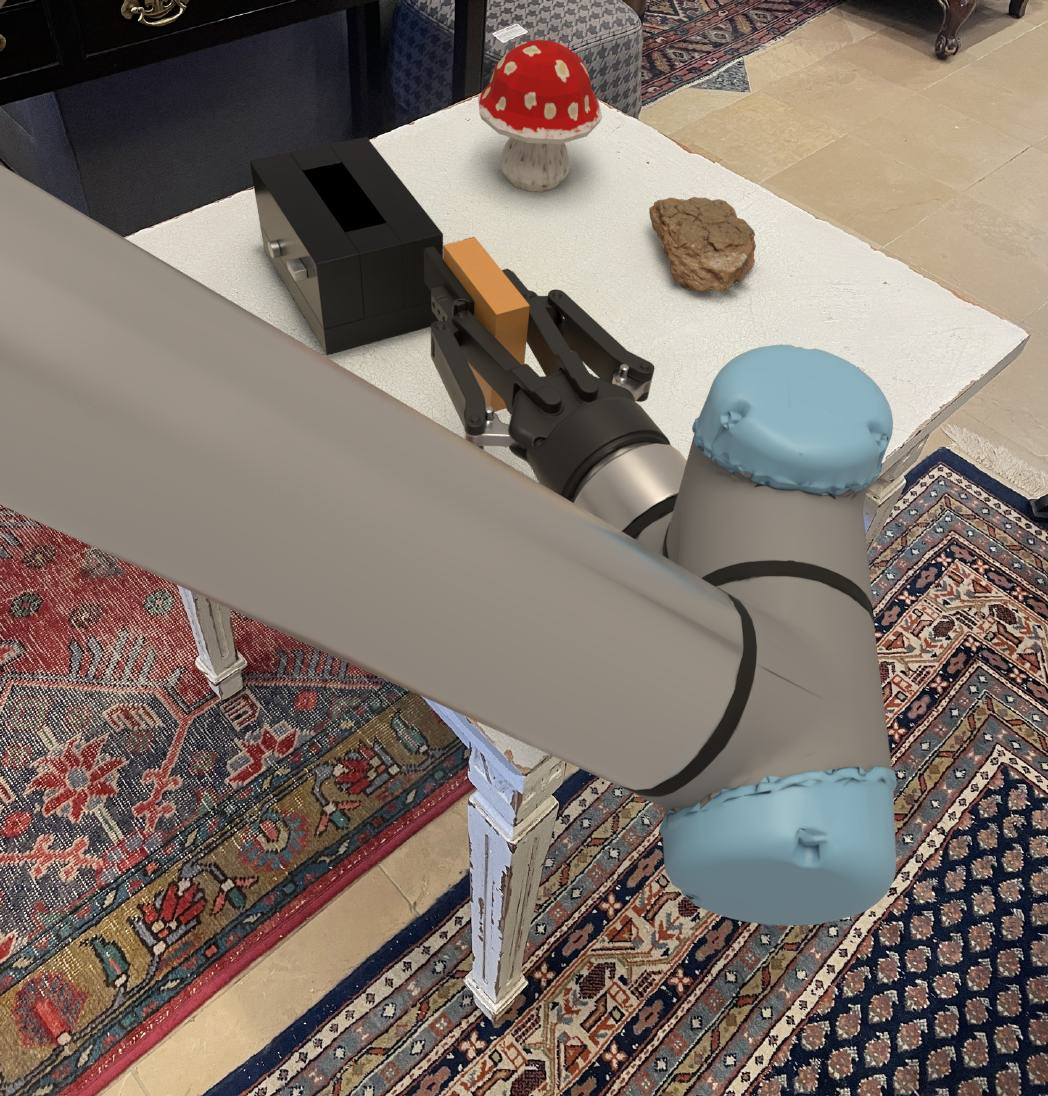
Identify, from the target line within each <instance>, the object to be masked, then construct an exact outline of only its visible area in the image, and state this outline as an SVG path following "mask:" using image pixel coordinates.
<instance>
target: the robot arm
mask: <svg viewBox="0 0 1048 1096" xmlns="http://www.w3.org/2000/svg"><path fill="white" fill-rule="evenodd" d="M6 2H7V0H0V9H1V8H2V7H3V6H4V4H5V3H6ZM474 237H475V236H472V237H468V238H464V239H463V240H466V239H470V238H474ZM501 270H502V271H503V273H504V274H505V275H506V276H507V278H508V279H509V280H510V281H511V283H512V284H513V285H514V286H515V288H516V289H517V290H518V291H519V293H520V294H521V295H522V296H523V298H524V299H525V300H526V301H527V303H528V304H529V305H530V308H529V319H528V330H527V341H526V345H527V346H528V348H529V349H530V351H531V352H532V354H533V356H534V358H535V359H536V361H537V363H538V365H539V366H540V368H541V370H542V372H543V374H544V376H540V375H539V374H538V373H537V372H536V371H535V370H534V369H533V368H532V367H531V366H530V365H529V364H528V363H524V364H523V365H521V364H520V363H519V362H518V361H517V360H516V359H515V358H514V357H513V355H512V354H511V353H510V352H509V351H508V350H507V349H506V348H505V347H504V346H503V345H502V344H501V343H500V342H499V341H498V340H497V339H496V338H495V337H494V336H493V335H492V334H491V333H490V332H489V331H488V330H487V329H486V328H485V327H484V326H483V325H482V324H481V323H480V322H479V321H478V320H477V319H476V318H475V317H474V300H473V299H472V297H471V296H470V295H469V293H468V292H467V291H466V289H465V288H464V287H463V285H462V284H461V283H460V281H459V280H458V279H457V277H456V276H455V275H454V273H453V272H452V271H451V269H450V268H449V267H448V265H447V264H446V263H445V261H444V260H443V258H442V257H441V255H440V254H439V253H438V251H437V250H436V249H435V247H430V248H425V249H424V282H425V284H426V285H427V286H428V288H429V289H430V291H431V306H432V311H433V313H434V314H435V315H436V317H437V319H438V320H439V321H436V322H434V323H432V324H431V326H430V359H431V361H432V362H433V364H434V367H435V369H436V371H437V374H438V375H439V378H440V379H441V380H440V381H441V382H442V384H443V386H444V388H445V391H446V392H447V394H448V396H449V399H450V400H451V403H452V405H453V408H454V409H455V412H456V414H457V416H458V418H459V420H460V422H461V424H462V427H463V429H464V432H463V433H464V435H463V436H461V435H459V434H458V433H456V432H454V431H453V430H451V429H449V428H447V427H446V426H444V425H442V424H440V423H439V422H437V421H435V420H433V419H432V418H430V417H429V416H426V414H424V413H421V412H420V411H418V410H416V409H415V408H413V407H412V406H409V405H408V404H407V403H404V402H403V401H401V400H400V399H398V398H397V397H394V396H393V395H391V394H390V393H388V392H386V391H384V390H382V388H379V387H378V386H376V385H375V384H372V383H371V382H369V381H367V380H366V379H364V378H363V377H361V376H359V375H357V374H356V373H354V372H352V371H350V370H349V369H347V368H345V367H344V366H342V365H341V364H339V363H337V362H335V361H333V360H332V359H331V358H329V357H327V356H325V355H323V354H322V353H320V352H319V351H316V350H315V349H313V348H312V347H310V346H308V345H306V344H305V343H303V342H302V341H299V340H298V339H297V338H295V337H293V336H291V335H289V333H286V332H284V331H283V330H281V329H280V328H278V327H276V326H274V325H273V324H271V323H270V322H268V321H265V320H264V319H263V318H261V317H259V316H257V315H256V314H254V313H252V312H251V311H249V310H248V309H246V308H244V307H243V306H241V305H239V304H237V303H235V302H233V301H232V300H230V299H229V298H227V297H226V296H223V295H222V294H220V293H218V292H217V291H216V290H213V289H211V288H210V287H208V286H206V285H205V284H203V283H201V282H200V281H199V280H196V279H195V278H193V277H191V276H189V275H188V274H187V273H184V272H183V271H181V270H180V269H179V268H176V267H174V265H171V264H170V263H168V262H166V261H164V260H163V259H160V258H159V257H157V255H154V254H152V253H151V252H149V251H147V250H145V249H144V248H142V247H141V246H139V245H138V244H135V243H134V242H132V241H130V240H128V239H127V238H125V237H124V236H122V235H120V234H118V233H117V232H115V231H113V230H112V229H110V228H108V227H107V226H106V225H104V224H102V223H100V222H98V221H96V220H95V219H93V218H92V217H89V216H88V215H86V214H85V213H83V212H81V211H79V210H78V209H76V208H74V207H73V206H71V205H69V204H67V203H66V202H64V201H63V200H61V199H60V198H58V197H56V196H54V195H52V194H51V193H49V192H47V191H45V190H44V189H42V188H40V187H39V186H37V185H35V184H34V183H32V182H31V181H29V180H27V179H26V178H23V177H22V176H20V175H19V174H17V173H15V172H13V171H12V170H10V169H8V168H7V167H5V166H3V165H1V164H0V506H3V507H5V508H7V509H9V510H11V511H13V512H15V513H18V514H20V515H22V516H23V517H24V516H25V517H26V518H29V519H31V520H34V521H35V522H38V523H39V524H41V525H44V526H46V527H48V528H50V529H53V530H55V531H57V532H60V533H62V534H63V535H66V536H68V537H71V538H73V539H75V540H77V541H79V542H81V543H84V544H85V545H88V546H90V547H93V548H94V549H97V550H99V551H101V552H103V553H106V554H108V555H109V556H112V557H114V558H117V559H119V560H121V561H123V562H125V563H127V564H130V565H131V566H134V567H136V568H138V569H141V570H143V571H145V572H148V573H149V574H152V575H154V576H156V577H159V578H160V579H163V580H165V581H167V582H170V583H171V584H174V585H176V586H179V587H180V588H182V589H185V590H187V591H190V592H191V593H193V594H195V595H198V596H200V597H202V598H205V599H206V600H209V601H211V602H213V603H215V604H218V605H220V606H222V607H225V608H226V609H228V610H231V611H233V612H235V613H238V614H240V615H242V616H244V617H247V618H248V619H251V620H253V621H255V622H258V623H260V624H262V625H264V626H266V627H269V628H270V629H273V630H275V631H277V632H280V633H281V634H284V635H286V636H288V637H290V638H292V639H295V640H297V641H299V642H301V643H304V644H306V645H308V646H310V647H313V648H314V649H317V650H319V651H322V652H323V653H326V654H328V655H330V656H332V657H334V658H337V659H339V660H340V661H343V662H345V663H348V664H349V665H352V666H354V667H356V668H358V669H361V670H363V671H365V672H367V673H370V674H371V675H374V676H376V677H379V678H380V679H383V680H385V681H387V682H389V683H391V684H394V685H396V686H398V687H400V688H402V689H404V690H407V691H409V692H411V693H413V694H416V695H418V696H420V697H423V698H425V699H427V700H429V701H431V702H434V703H435V704H438V705H440V706H442V707H444V708H446V709H449V710H451V711H453V712H455V713H457V714H460V715H462V716H464V717H467V718H468V719H471V720H473V721H474V722H477V723H479V724H481V725H484V726H486V727H488V728H490V729H492V730H494V731H497V732H499V733H501V734H503V735H505V736H508V737H510V738H513V739H515V740H516V741H519V742H521V743H524V744H526V745H527V746H530V747H532V748H534V749H537V750H539V751H541V752H543V753H545V754H547V755H550V756H552V757H554V758H556V759H559V760H561V761H563V762H564V763H567V764H569V765H571V766H573V767H576V768H578V769H580V770H583V771H585V772H587V773H589V774H591V775H594V776H596V777H598V778H600V779H603V780H605V781H607V782H609V783H611V784H613V785H615V786H618V787H620V788H623V789H624V790H627V791H629V792H631V793H632V794H634V795H636V796H638V797H640V798H642V799H644V800H645V801H648V802H650V803H652V804H654V805H656V806H659V807H661V809H662V810H663V812H664V813H663V818H662V820H661V824H660V826H659V828H658V833H660V835H661V836H662V846H663V847H662V848H663V849H662V850H663V865H664V866H663V867H664V871H665V874H666V876H667V877H668V878H669V880H670V882H671V884H672V886H673V887H675V888H677V889H679V890H680V892H681V894H682V896H683V897H684V898H686V899H687V900H688V901H690V902H691V903H692V904H693V905H695V906H697V907H699V908H701V909H703V910H705V911H708V912H710V913H712V914H716V915H718V916H722V917H725V918H728V919H732V920H737V921H741V922H746V923H751V924H759V925H768V926H769V925H770V926H782V927H783V926H786V927H787V926H812V925H820V924H825V923H831V922H835V921H839V920H843V919H847V918H851V917H855V916H857V915H860V914H862V913H864V912H866V911H868V910H870V909H871V908H874V907H875V906H876V905H877V904H879V902H880V901H881V900H883V898H884V897H885V896H886V895H887V894H888V893H889V891H890V889H891V888H892V885H893V884H894V880H895V878H896V870H897V850H896V849H897V847H896V826H895V824H896V823H895V803H894V801H895V799H894V792H895V790H896V788H897V786H898V785H897V784H898V782H897V776H896V772H895V770H894V769H893V767H892V759H891V752H890V741H889V735H888V725H887V719H886V711H885V702H884V695H883V686H882V679H881V671H880V662H879V654H878V646H877V645H878V644H877V638H876V627H875V615H874V613H875V612H874V603H873V594H872V584H871V574H870V573H871V572H870V563H869V553H868V544H867V534H866V525H865V516H864V507H865V500H866V495H867V491H868V489H869V488H870V486H871V485H872V484H874V483H876V482H877V481H878V480H879V477H880V474H881V472H882V471H883V460H884V457H885V454H886V452H887V449H888V447H889V444H890V441H891V438H892V436H893V430H894V419H893V413H892V412H893V411H892V408H891V406H890V403H889V401H888V399H887V397H886V395H885V394H884V392H883V391H882V389H881V388H880V386H879V385H878V384H877V383H876V382H875V380H874V379H872V378H871V377H870V376H869V375H868V374H867V373H866V372H865V371H863V370H862V369H861V368H860V367H858V366H856V365H855V364H854V363H851V362H849V361H848V360H846V359H845V358H843V357H841V356H838V355H836V354H834V353H831V352H829V351H825V350H822V349H819V348H805V347H802V346H794V345H792V344H773V345H764V346H759V347H756V348H753V349H750V350H749V349H748V350H747V351H745V352H742V353H740V354H738V355H736V356H735V357H733V358H731V359H730V360H729V361H728V362H727V363H726V364H724V366H722V368H721V369H720V370H719V371H718V373H717V374H716V376H715V377H714V379H713V381H712V383H711V386H710V389H709V391H708V394H707V396H706V399H705V401H704V403H703V406H702V409H701V411H700V413H699V415H698V417H697V418H695V419H694V422H693V424H692V427H691V430H692V433H693V437H692V440H691V444H690V448H689V451H688V455H687V459H686V457H684V455H683V454H682V452H681V451H680V450H679V449H677V448H676V447H674V446H673V445H672V444H671V442H670V440H669V438H668V437H667V436H666V434H665V433H664V432H663V431H662V430H661V428H660V427H659V426H658V425H657V424H656V422H655V421H654V420H653V419H652V417H651V416H650V415H649V414H648V413H647V411H646V410H645V409H644V408H643V407H642V406H641V405H640V404H639V403H642V402H643V403H644V402H645V401H647V400H648V398H649V394H650V390H651V386H652V381H653V378H654V373H655V368H656V367H655V365H654V364H653V363H652V362H651V361H648V360H647V359H645V358H643V357H641V356H639V355H637V354H635V353H633V352H631V351H630V350H627V349H626V348H625V346H624V345H622V344H621V343H620V342H619V341H618V340H617V339H615V337H614V336H612V335H611V334H610V333H609V332H608V331H607V330H606V329H605V328H604V327H602V326H601V324H599V323H598V322H597V321H596V320H595V319H594V318H593V317H591V316H590V314H588V313H587V312H586V310H584V309H583V308H582V307H581V306H580V305H579V304H578V303H577V302H576V301H575V300H573V299H572V298H571V297H570V296H569V295H568V294H567V293H566V292H565V291H563V290H561V289H551V290H549V291H548V292H547V295H538V294H537V293H536V291H533V290H529V289H528V288H527V287H526V285H525V284H524V283H523V282H522V280H521V279H520V277H518V276H517V274H516V273H515V272H514V271H513V270H511V269H509V268H504V269H501ZM468 363H469V364H470V365H471V366H472V367H473V368H474V369H475V370H476V371H477V373H478V374H479V375H480V376H481V377H482V378H483V379H484V380H485V381H486V382H487V383H488V384H489V385H490V386H491V388H492V389H493V390H494V391H495V392H496V393H497V394H498V395H499V396H500V397H501V398H502V399H503V401H504V402H505V406H506V410H507V413H509V414H510V419H509V423H505V422H503V421H501V420H500V418H499V415H498V414H497V413H496V412H494V408H493V407H492V406H486V404H485V398H484V394H483V392H482V390H481V388H480V386H479V384H478V382H477V380H476V378H475V376H474V374H473V372H472V370H471V368H470V366H469V364H468ZM587 368H589V369H587ZM589 370H591V372H592V373H594V374H595V375H596V376H595V375H593V374H592V373H590V372H589ZM485 447H506V448H508V449H509V452H511V454H513V455H514V456H515V457H517V458H519V459H521V460H522V461H525V462H526V463H527V464H528V465H529V466H530V468H531V470H532V473H533V474H534V476H535V478H536V480H535V479H534V478H532V477H530V476H528V475H527V474H525V473H523V472H522V471H520V470H518V469H516V468H515V467H513V466H511V465H510V464H508V463H506V462H505V461H504V460H501V459H500V458H498V457H496V456H494V455H493V454H491V453H489V452H488V451H486V450H485Z"/></svg>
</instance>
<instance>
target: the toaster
mask: <svg viewBox="0 0 1048 1096" xmlns="http://www.w3.org/2000/svg"><path fill="white" fill-rule="evenodd" d="M249 165H250V173H251V178H252V184H253V191H254V196H255V201H256V202H255V203H256V207H257V214H258V221H259V226H260V232H261V233H260V234H261V240H262V245H263V250H264V252H265V254H266V256H267V257H268V260H269V261H270V263H271V264H272V265H273V268H274V269H275V270H276V272H277V274H278V276H279V278H280V279H281V281H282V282H283V284H284V286H285V287H286V289H287V291H288V292H289V294H290V296H291V297H292V299H293V300H294V303H295V304H296V307H297V308H298V310H299V311H300V312H301V314H302V316H303V317H304V319H305V321H306V322H307V324H308V326H309V327H310V329H311V331H312V333H313V334H314V336H315V337H316V339H317V341H318V343H319V345H320V346H321V348H322V349H323V351H324V353H325V355H327V356H328V355H332V354H335V353H338V352H339V353H340V352H343V351H346V350H350V349H353V348H357V347H360V346H364V345H365V346H366V345H368V344H371V343H375V342H379V341H383V340H386V339H389V338H390V339H391V338H394V337H398V336H401V335H404V334H408V333H411V332H417V331H420V330H422V329H426V328H431V324H432V323H434V322H436V321H439V320H438V319H437V317H436V315H435V314H434V313H433V311H432V306H431V291H430V289H429V288H428V286H427V285H426V284H425V282H424V249H425V248H430V247H435V249H436V250H437V251H438V253H439V254H440V255H441V257H442V258H443V245H444V233H443V232H442V231H441V229H440V228H439V226H438V225H437V224H436V223H435V221H434V220H433V219H432V217H430V215H429V214H428V213H427V212H426V210H425V209H424V207H422V205H421V204H420V202H419V201H418V200H417V199H416V198H415V196H414V195H413V194H412V192H410V190H409V189H408V187H407V186H406V185H405V184H404V183H403V181H402V180H401V179H400V178H399V175H397V173H396V172H395V171H394V170H393V168H392V167H391V166H390V165H389V163H388V162H387V161H386V160H385V158H384V157H383V156H382V154H381V153H380V152H379V151H378V149H377V148H376V147H375V146H374V144H373V143H372V142H371V141H370V140H369V138H368V137H367V136H364V137H359V138H355V139H349V140H344V141H340V142H339V141H338V142H335V143H329V144H324V145H319V146H314V147H308V148H304V149H303V148H302V149H298V150H294V151H290V152H288V151H287V152H283V153H278V154H273V155H267V156H263V157H259V158H253V159H249Z"/></svg>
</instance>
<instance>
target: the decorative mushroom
mask: <svg viewBox="0 0 1048 1096" xmlns="http://www.w3.org/2000/svg"><path fill="white" fill-rule="evenodd" d="M477 101H478V102H477V103H478V112H479V113H478V114H479V116H480V119H481V120H482V121H483V122H484V123H485V124H487V126H489V127H490V128H491V129H493V130H494V131H495V132H496V133H497V134H498V135H502V136H504V137H506V138H507V137H508V139H507V141H506V143H505V145H504V146H503V148H502V151H501V154H500V165H501V171H502V173H503V175H504V176H505V177H506V179H507V181H509V182H510V183H511V184H512V185H513V186H514V187H515V188H518V189H521V190H524V191H528V192H546V191H549V190H552V189H556V188H557V186H558V185H559V184H561V182H562V181H563V180H564V179H565V178H566V177H567V175H568V174H569V173H570V169H571V168H570V167H571V164H570V158H569V153H568V148H567V145H566V143H569V142H572V141H577V140H579V139H580V140H581V139H583V138H586V137H588V136H590V134H591V133H592V132H593V130H594V129H595V128H596V127H597V126H598V125H599V124H600V122H601V121H602V119H603V115H602V114H603V113H602V109H601V106H600V103H599V102H600V101H599V99H598V97H597V95H596V94H595V93H594V91H593V89H592V83H591V78H590V74H589V70H588V68H587V66H586V64H585V63H584V61H583V59H582V58H581V57H580V56H578V54H576V53H575V52H574V51H573V50H571V49H570V48H569V47H567V46H566V45H564V44H563V43H560V42H556V41H553V40H550V39H549V40H548V39H532V40H528V41H524V42H521V43H520V44H518V45H516V46H514V47H513V48H511V50H509V51H508V52H507V53H506V54H505V55H503V57H502V58H501V59H500V60H499V61H498V62H497V64H495V66H494V69H493V72H492V75H491V78H490V81H489V83H488V85H487V86H486V87H485V88H484V89H483V90H482V91H481V93H480V94H479V95H478V96H477Z"/></svg>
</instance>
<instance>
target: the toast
mask: <svg viewBox="0 0 1048 1096" xmlns="http://www.w3.org/2000/svg"><path fill="white" fill-rule="evenodd" d="M473 237H474V238H472V237H469V238H470V239H468V238H465V239H466V240H464V239H461V240H457V241H454V242H453V241H452V242H450V243H445V244H443V260H444V261H445V263H446V264H447V265H448V267H449V268H450V269H451V271H452V272H453V273H454V275H455V276H456V277H457V279H458V280H459V281H460V283H461V284H462V285H463V287H464V288H465V289H466V291H467V292H468V293H469V295H470V296H471V297H472V299H473V300H474V317H475V318H476V319H477V320H478V321H479V322H480V323H481V324H482V325H483V326H484V327H485V328H486V329H487V330H488V331H489V332H490V333H491V334H492V335H493V336H494V337H495V338H496V339H497V340H498V341H499V342H500V343H501V344H502V345H503V346H504V347H505V348H506V349H507V350H508V351H509V352H510V353H511V354H512V355H513V357H514V358H515V359H516V360H517V361H518V362H519V363H520V364H521V365H523V364H525V361H526V351H527V350H526V349H527V342H526V341H527V330H528V319H529V308H530V305H529V304H528V303H527V301H526V300H525V299H524V298H523V296H522V295H521V294H520V293H519V291H518V290H517V289H516V288H515V286H514V285H513V284H512V283H511V281H510V280H509V279H508V278H507V276H506V275H505V274H504V273H503V271H502V270H503V269H501V268H500V266H499V265H498V264H497V263H496V261H495V260H494V259H493V258H492V256H491V255H490V254H489V253H488V251H487V250H486V249H485V247H484V246H483V245H482V244H481V243H480V242H479V240H478V239H477V238H476V237H475V236H473ZM468 364H469V363H468ZM469 366H470V368H471V370H472V372H473V374H474V376H475V378H476V380H477V382H478V384H479V386H480V388H481V390H482V392H483V394H484V398H485V404H486V406H492V407H493V408H494V413H496V412H499V411H502V410H505V409H506V406H505V402H504V401H503V399H502V398H501V397H500V396H499V395H498V394H497V393H496V392H495V391H494V390H493V389H492V388H491V386H490V385H489V384H488V383H487V382H486V381H485V380H484V379H483V378H482V377H481V376H480V375H479V374H478V373H477V371H476V370H475V369H474V368H473V367H472V366H471V365H470V364H469ZM506 410H507V409H506Z"/></svg>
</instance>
